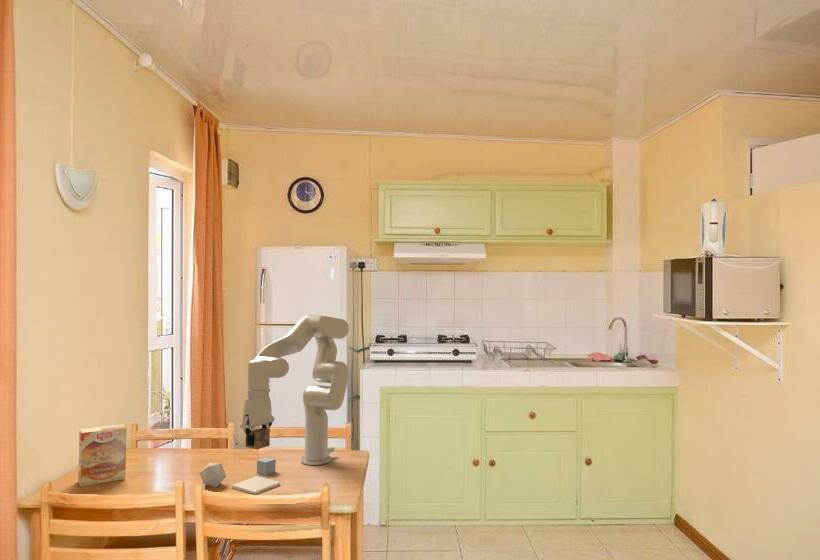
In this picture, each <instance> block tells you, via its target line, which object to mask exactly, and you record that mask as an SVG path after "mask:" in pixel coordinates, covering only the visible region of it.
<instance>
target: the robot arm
mask: <svg viewBox="0 0 820 560" xmlns="http://www.w3.org/2000/svg"><path fill="white" fill-rule="evenodd" d="M349 331H350V327H349V323H348V322H347V320H345V319H343V318H341V317H340V318H338V317H332V316H329V315H328V316H327V315H313V314H312V315H311V314H309V315H304V316H303V317H302V318H300V320H298V322H297V323H296V324H295V325H294V326H293V328H291V329H290V331H288V333H287V334H286V335H285V336H283V337H282V338H279V339H277V340H275V341H273V342H271V343H270V344H268V345H267V346H265V347H264V348H263V349H262V350H260V352H259V353H258V354H257V355H256V356H255V358H254V359H251V360H250V361H249V362H248V364H247V398H245V401H244V405H243V413H242V422H241V424H240V426H239V427H240V429H241V430H242V431H243V432H244V433H245V435H246V434H247V445H249V446H254V435H253V432H254V429H255V428H257V427H259V426H261V428H266V429H270V430H271V427H272V425H273V423H274V422H275V416H273V414H272V401H271V397H270V392H271V389H270V379H280V378H283V377H285V376H286V375H287V374H288V373H289V370H290V365H289V362H288V361H287V360H286V359H284V358H283V357H286V356H287V357H288V356H290V355H294V354H297V353H300V352H301V351H303V350H304V348H305V347H306V346H307V345H308V343H309V342H310V341H311V340H312V338H314V339H315V341H316V344H317V345H316V346H317V351H316V354H315V355H316V356H315V359H314V364H313V367H312V374H311V375H312V379H313V380H314V381H316V382H318V383H324V384H330V385H329V386H328V385H321V384H311V385H309V386H307V387H306V388H305V389H304V390H303V393H302V403H303V407H304V456H302V457H301V458H300V463H302V464H304V465H307V466H323V465H325V464H329V463H330V462H331V461H332V457H331V456H330V454H331V453H334V452H335V449H336V448H335V447H328V446H329V445H328V444H329V437H328V436H329V417H328V413H327V411H337V410H339V409H340V408H341V407H342V405H343V403H344V400H345V395H346V390H347V386H348V381H349V376H350V375H349V374H350V372H349V367H348V365H347V364H346V363H345V362H343V361H340V360H337V354H338V347H337V344H336V342H335V339H336V340H342V339H344V338H346V337H347V336H348V334H349ZM250 429H251V430H250Z"/></svg>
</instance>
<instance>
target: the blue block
mask: <svg viewBox="0 0 820 560" xmlns="http://www.w3.org/2000/svg"><path fill="white" fill-rule="evenodd" d="M276 462H277V461H276V458H271V457H267V456H266V457H263V458H259V459H257V460H256V474H259V475H263V476H268V475H270V474H273V473H276V466H277V465H276Z"/></svg>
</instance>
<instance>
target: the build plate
mask: <svg viewBox="0 0 820 560" xmlns="http://www.w3.org/2000/svg"><path fill="white" fill-rule="evenodd" d="M278 485H279V486H281V482H280V481H277V480H273V479H271V478H270V479H269V478H266V477H262V476H258V475H257V476H254V477H251V478H248V479H245V480H242V481H240V482H237V483H234V484H232V485H231V488H232V489H235V490H237V491H241V490H242V492H244V491H246V492H245V493H247V492H249V494H251V493H253V494H252V495H254V494H255V495H258V494H260V493H263V492H265V491H264V490H266V491H268V490H270V489H269V488H271V489H273V488H276V487H279V486H278ZM275 486H276V487H275ZM272 487H273V488H272ZM267 489H268V490H267Z"/></svg>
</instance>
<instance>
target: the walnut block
mask: <svg viewBox="0 0 820 560" xmlns="http://www.w3.org/2000/svg"><path fill="white" fill-rule="evenodd" d="M250 430H251V428H250ZM253 435H254V446H249V445H247V434H245V448H250V449H252V450H253V449H254V450H260V449H264V448H266V447H270V446H271V445H270V442H271V437H270V436H271V428H270V429H266V428H262V426H261V427H259V426H256V427H255V429H254V432H253Z"/></svg>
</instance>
